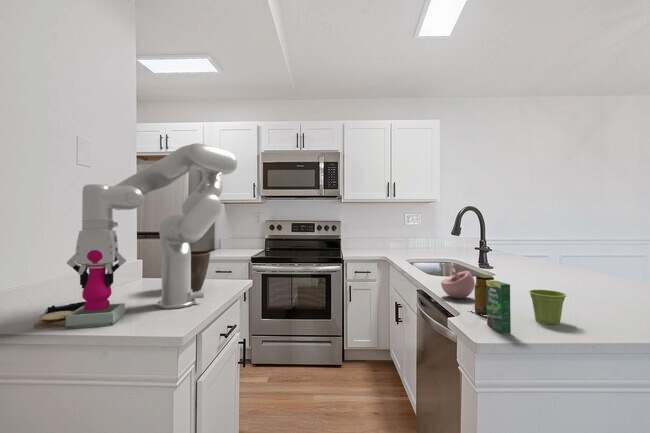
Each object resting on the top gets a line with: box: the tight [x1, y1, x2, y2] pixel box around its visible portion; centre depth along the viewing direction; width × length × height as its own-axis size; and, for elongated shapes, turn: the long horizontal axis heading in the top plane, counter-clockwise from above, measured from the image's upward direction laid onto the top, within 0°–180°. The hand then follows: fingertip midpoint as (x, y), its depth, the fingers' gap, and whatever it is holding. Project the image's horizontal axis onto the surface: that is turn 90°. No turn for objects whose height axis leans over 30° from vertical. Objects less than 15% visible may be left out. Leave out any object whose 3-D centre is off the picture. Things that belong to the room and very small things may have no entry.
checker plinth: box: [33, 319, 66, 329], centre depth 98 cm, size 8×8×1 cm
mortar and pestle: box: [440, 267, 476, 299], centre depth 129 cm, size 12×12×12 cm
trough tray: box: [65, 302, 126, 330], centre depth 100 cm, size 12×12×4 cm
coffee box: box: [486, 279, 512, 335], centre depth 93 cm, size 8×3×13 cm, turn 1°
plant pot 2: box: [528, 289, 567, 325], centre depth 99 cm, size 9×9×9 cm
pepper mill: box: [81, 250, 112, 311], centre depth 100 cm, size 7×7×20 cm
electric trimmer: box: [44, 300, 87, 315], centre depth 111 cm, size 4×16×3 cm, turn 134°
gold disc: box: [41, 311, 73, 321], centre depth 98 cm, size 7×7×2 cm
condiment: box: [469, 274, 495, 318], centre depth 108 cm, size 7×8×12 cm
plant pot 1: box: [191, 250, 211, 292], centre depth 142 cm, size 15×15×16 cm
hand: (96, 286), depth 100 cm, fingers closed on pepper mill, 5 cm apart
